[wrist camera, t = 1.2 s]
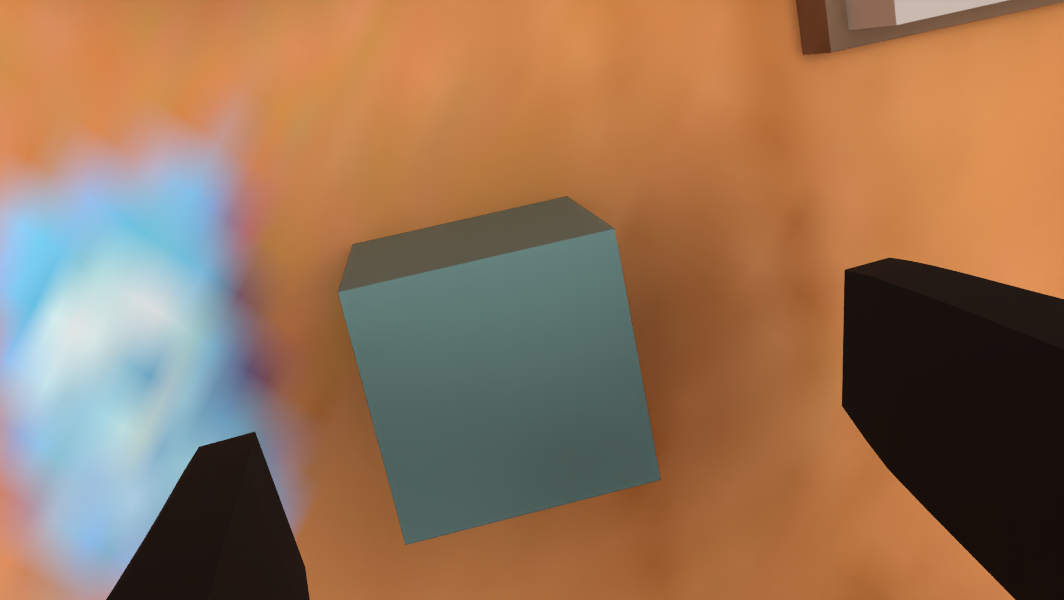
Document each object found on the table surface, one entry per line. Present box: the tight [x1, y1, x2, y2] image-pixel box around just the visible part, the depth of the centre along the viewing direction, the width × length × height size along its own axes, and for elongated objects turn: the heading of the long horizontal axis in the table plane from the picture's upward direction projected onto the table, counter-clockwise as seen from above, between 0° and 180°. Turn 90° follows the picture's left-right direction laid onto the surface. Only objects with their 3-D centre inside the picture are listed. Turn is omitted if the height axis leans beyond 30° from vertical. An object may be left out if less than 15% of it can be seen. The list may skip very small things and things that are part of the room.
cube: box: [338, 196, 661, 545], centre depth 19 cm, size 5×5×5 cm
